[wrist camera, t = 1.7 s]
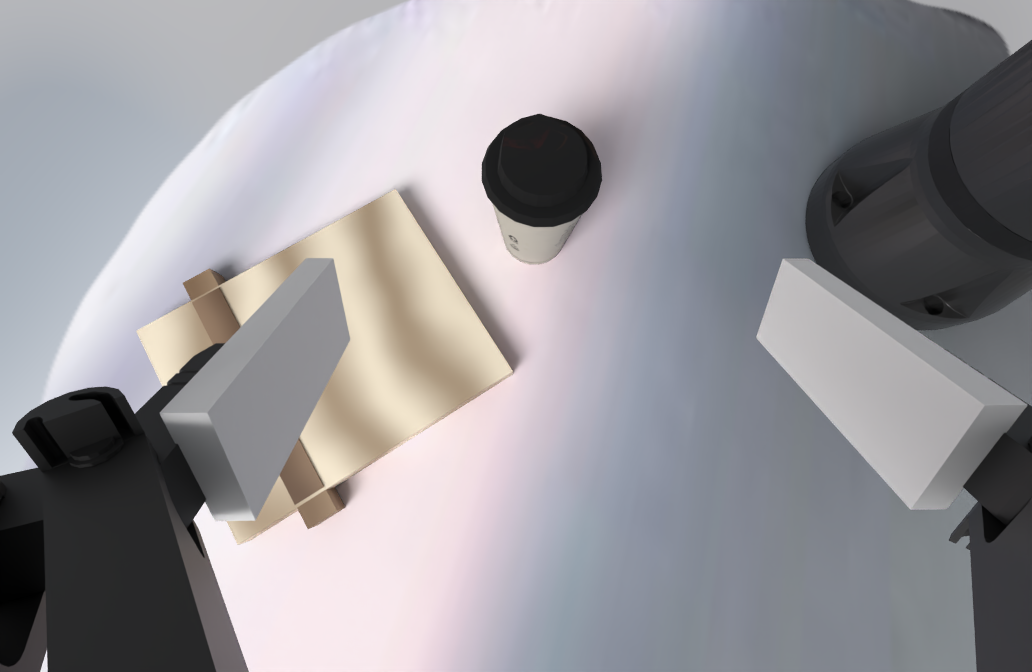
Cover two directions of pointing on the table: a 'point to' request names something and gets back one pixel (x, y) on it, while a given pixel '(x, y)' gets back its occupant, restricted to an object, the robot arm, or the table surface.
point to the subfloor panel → (350, 350)
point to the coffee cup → (540, 184)
